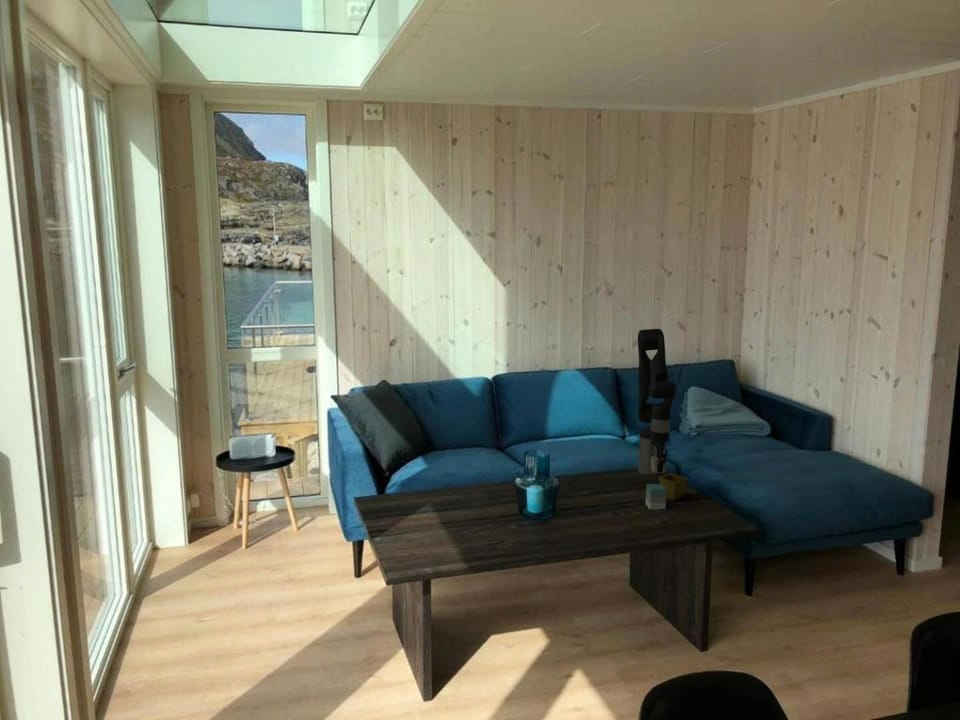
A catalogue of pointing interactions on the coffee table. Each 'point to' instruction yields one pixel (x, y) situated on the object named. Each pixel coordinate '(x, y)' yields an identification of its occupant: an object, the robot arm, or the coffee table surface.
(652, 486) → the slab top
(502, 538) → the coffee table surface
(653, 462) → the birch block
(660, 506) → the slab bottom
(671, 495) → the flower pot
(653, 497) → the slab middle
